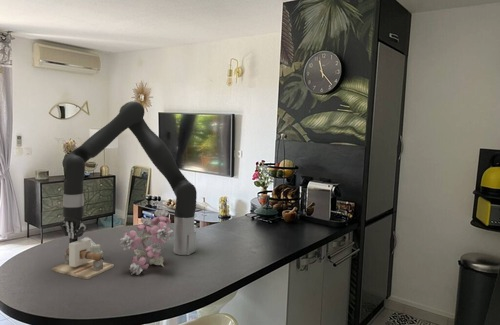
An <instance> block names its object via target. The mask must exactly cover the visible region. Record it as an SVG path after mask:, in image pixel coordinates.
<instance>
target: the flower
mask: <svg viewBox="0 0 500 325" xmlns="http://www.w3.org/2000/svg"><path fill="white" fill-rule="evenodd" d="M168 215H169V211H168V210H166V209H164V208H161V209H156V210H155V211H154V216H155V217H153V218H151V216H149V217H145V218H144V217H141V218H140V220H139V221H140V222H141V224H138V225H137V226H136V228H137V231H138V232H141V231H142V230H143V233H142V234H141V235H140V237H139V235H137V234H138V232H137V231H136V230H130V231H129V232H127V231H126V232H125V233H123V236H122V238H120V239H119V241H120V243H119V244H118V245H119V247H122V248H123V249H122V250H123V251H128V250H131V251H132V250H133V252H134V254H135V255H134V256H133V257H132V261H131V264H130V268H129V270H130V273H131V272H132V273H131V275H133V274H135V275H140V274H141V272H143V270H147V269H148V268H149V265H150V266H151V265H156V266H162V267H163V268H164V267H165V265H164V260H165V259H164V257H163V256H160V255H161V249H163V247H161V245H162V244H166V242H167V241H170V240H171V239H172V238H171V237H170V236H171V235H172V234H174V229H171V228H170V227H168V225H171V219H170V218H169V217H168ZM152 225H153V226H152ZM158 225H159V226H158ZM149 238H150V241H151V242H152V243H151V245H148V246H146V244H145V242H146V241H148V239H149ZM140 244H141V246H142V247H143V249H144V250H142V249H140V248H139V249H138V247H137V246H139V245H140ZM138 257H139V260H138ZM147 258H150V259H149V260H148V262H149V263H147Z"/></svg>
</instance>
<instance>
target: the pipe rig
mask: <svg viewBox="0 0 500 325" xmlns="http://www.w3.org/2000/svg"><path fill="white" fill-rule="evenodd" d="M80 257H83V258H86V259H92V260H91V261H89V262H86V263H84V264H81V265H79V266H77V267H72V266H69V247H68V248H66V251H65V254H64V263H62V264H59V265H56V266H54V267H52V268H51V271H52V272H54V273H55V272H56V273H60V274H63V275H68V276H72V277H74V278H75V277H76V278H79V279H84V280H89V279H92V278H94V277H96V276H98V275H100V274H102V273H104V272H106V271H109V270H111V269H113V268H115V264H113V263H108V262H104V259H101V258H103V255H102V256H101V254H96V253H91V252H89V251H88V252H87V251H82V250H81V251H80Z"/></svg>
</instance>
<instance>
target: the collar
mask: <svg viewBox="0 0 500 325" xmlns="http://www.w3.org/2000/svg"><path fill="white" fill-rule="evenodd" d="M91 239H92V238H91ZM91 239H87V238H84V239H82V238H81V239H78V241H75V242H72V243H68V248H69V266H72V267H77V266H79V265H81V264H84V263H86V262H89V261H91V259H86V258H83V257H80V251H81V250H82V251H87V252H88V251H89V252H91Z"/></svg>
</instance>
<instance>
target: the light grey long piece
mask: <svg viewBox="0 0 500 325" xmlns="http://www.w3.org/2000/svg"><path fill="white" fill-rule="evenodd" d="M84 238H87V239H91V253H96V254H101V256H102V258H103V255H104V250H102V246H101V244H96V243H95V242H94V241H93V239H92V238H91V237H89V236H84V237H83V238H81V239H84ZM102 258H101V259H102ZM91 260H92V259H91ZM102 260H103V259H102Z"/></svg>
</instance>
